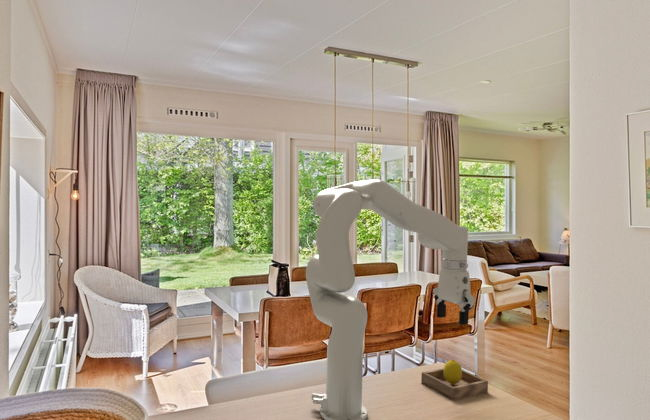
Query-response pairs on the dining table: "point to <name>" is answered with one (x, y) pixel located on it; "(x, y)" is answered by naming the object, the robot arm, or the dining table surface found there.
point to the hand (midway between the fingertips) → (452, 320)
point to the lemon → (452, 372)
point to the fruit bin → (460, 390)
